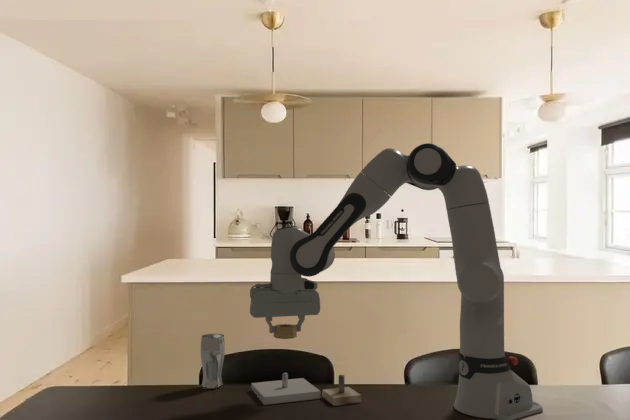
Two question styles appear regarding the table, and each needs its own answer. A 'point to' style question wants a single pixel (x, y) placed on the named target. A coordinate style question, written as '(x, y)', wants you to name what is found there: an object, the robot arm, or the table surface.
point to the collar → (285, 331)
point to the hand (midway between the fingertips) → (285, 332)
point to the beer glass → (212, 359)
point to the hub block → (285, 390)
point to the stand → (341, 394)
